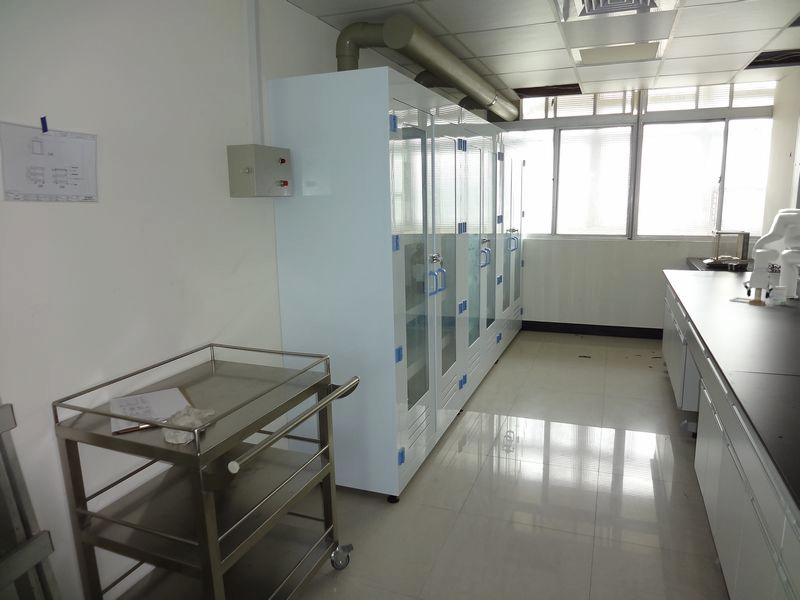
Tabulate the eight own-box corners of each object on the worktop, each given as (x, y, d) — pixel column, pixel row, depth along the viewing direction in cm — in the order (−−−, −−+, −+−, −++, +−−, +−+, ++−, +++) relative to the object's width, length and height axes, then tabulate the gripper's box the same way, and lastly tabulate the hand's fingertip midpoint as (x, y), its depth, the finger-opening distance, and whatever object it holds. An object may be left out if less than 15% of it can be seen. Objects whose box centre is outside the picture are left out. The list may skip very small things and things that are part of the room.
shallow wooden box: (752, 303, 343) (752, 299, 342) (765, 305, 338) (765, 300, 337) (748, 305, 338) (749, 300, 338) (761, 306, 333) (762, 302, 333)
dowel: (754, 303, 340) (756, 287, 339) (761, 304, 338) (762, 288, 336) (753, 304, 338) (754, 288, 336) (759, 305, 336) (760, 289, 334)
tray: (735, 299, 357) (736, 297, 357) (754, 301, 349) (755, 299, 349) (729, 301, 350) (729, 299, 349) (748, 304, 341) (748, 301, 341)
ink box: (771, 305, 336) (773, 287, 334) (766, 304, 341) (768, 285, 339) (786, 305, 335) (788, 286, 333) (781, 304, 340) (783, 285, 338)
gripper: (778, 270, 330) (775, 298, 333) (746, 268, 343) (744, 294, 346) (775, 272, 325) (772, 299, 328) (742, 269, 338) (740, 296, 341)
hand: (757, 297), depth 337 cm, fingers open, 9 cm apart
